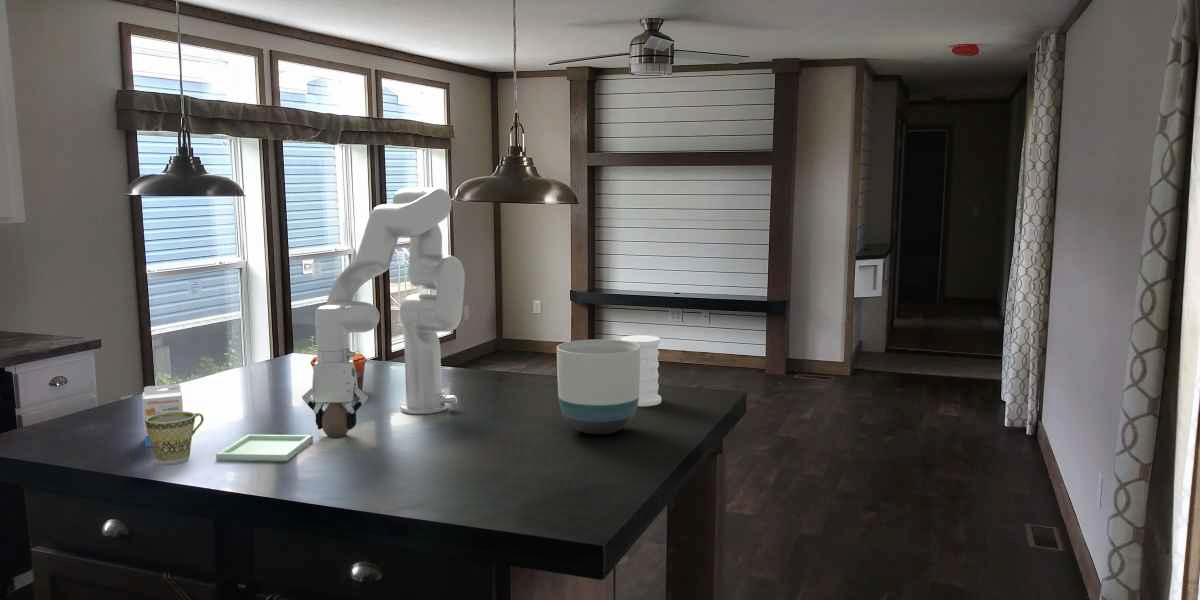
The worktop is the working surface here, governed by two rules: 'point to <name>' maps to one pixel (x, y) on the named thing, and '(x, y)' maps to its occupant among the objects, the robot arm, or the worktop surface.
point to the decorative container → (647, 368)
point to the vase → (335, 420)
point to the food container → (359, 367)
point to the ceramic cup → (172, 436)
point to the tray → (264, 448)
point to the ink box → (160, 403)
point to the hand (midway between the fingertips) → (336, 427)
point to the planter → (598, 384)
